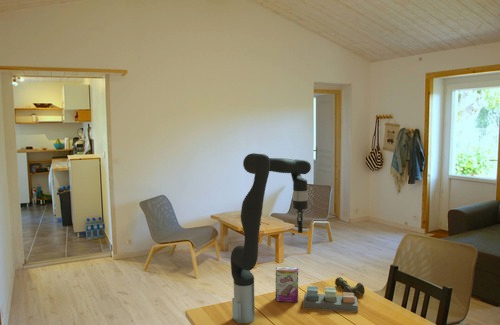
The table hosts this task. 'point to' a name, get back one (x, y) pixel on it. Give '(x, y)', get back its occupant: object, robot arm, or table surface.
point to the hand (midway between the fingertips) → (300, 232)
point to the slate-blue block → (312, 293)
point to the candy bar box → (286, 284)
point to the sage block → (330, 294)
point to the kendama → (357, 289)
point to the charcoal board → (330, 304)
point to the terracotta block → (348, 297)
